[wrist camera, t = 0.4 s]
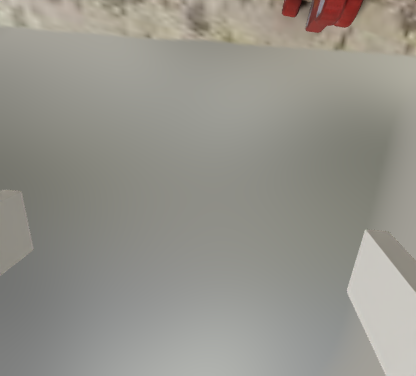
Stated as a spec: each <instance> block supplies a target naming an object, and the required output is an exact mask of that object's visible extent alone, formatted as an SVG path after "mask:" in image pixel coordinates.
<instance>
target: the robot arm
mask: <svg viewBox="0 0 416 376" xmlns="http://www.w3.org/2000/svg"><path fill="white" fill-rule="evenodd" d="M33 250H34V248H33V244H32V239H31V234H30V230H29V225H28V221H27V215H26V211H25V207H24V201H23V197H22V192H21V191H14V190H2V191H0V276H1V275H2V274H3V273H4V272H6V271H7V270H8V269H9V268H11V267H12V266H13V265H15V264H16V263H17V262H18V261H20V260H21V259H22V258H23V257H25V256H26V255H27V254H29V253H30V252H31V251H33ZM347 293H348V295H349V298H350V300H351V302H352V304H353V306H354V308H355V310H356V313H357V315H358V317H359V319H360V321H361V323H362V325H363V328H364V330H365V332H366V334H367V336H368V338H369V340H370V342H371V345H372V347H373V349H374V351H375V353H376V355H377V358H378V360H379V362H380V364H381V366H382V368H383V370H384V373H385V375H386V376H416V261H415V260H414V258H412V256H411V255H410V254H409V253H408V252H407V251H406V250H405V249H404V248H403V247H402V245H401V244H400V243H399V242H398V241H397V240H396V239H395V238H394V237H393V236H392V235H391V234H390V233H389V232H386V231H378V230H368V229H365V232H364V236H363V239H362V243H361V246H360V249H359V252H358V256H357V259H356V262H355V265H354V269H353V272H352V276H351V279H350V282H349V286H348V289H347Z"/></svg>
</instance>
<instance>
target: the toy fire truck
mask: <svg viewBox="0 0 416 376" xmlns="http://www.w3.org/2000/svg"><path fill="white" fill-rule="evenodd" d="M303 1H307V2H312V3H311V8H310V12H309V16H308V19H307V23H306V31H309V32H317V33H318V32H321V31H322V30H323V29H324V28H325V27H326V26H327V25H328V26H330V25H335V26H339V27H344V28H345V27H348V26H350V25H351V23H352V22H353V20H354V19H355V17H356V15H357V13H358V11H359V9H360V7H361V4H362V2H363V0H303ZM301 2H302V0H284V4H283V9H282V14H283V15H284V16H289V17H296V16H297V14H298V11H299V8H300V5H301Z"/></svg>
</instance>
